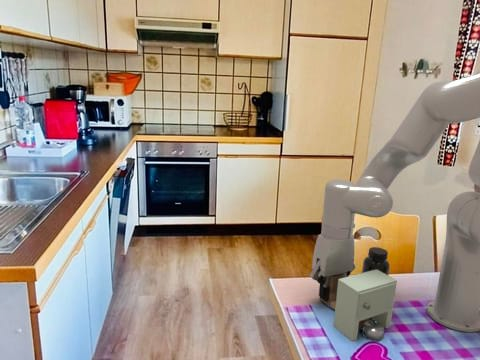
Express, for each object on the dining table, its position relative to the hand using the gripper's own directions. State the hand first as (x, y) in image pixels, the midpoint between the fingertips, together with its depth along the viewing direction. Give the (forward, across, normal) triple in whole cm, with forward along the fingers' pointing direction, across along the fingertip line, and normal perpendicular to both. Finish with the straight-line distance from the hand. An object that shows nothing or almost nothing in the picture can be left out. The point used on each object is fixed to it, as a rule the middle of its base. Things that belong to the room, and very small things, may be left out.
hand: (330, 296), depth 101 cm
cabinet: (+2, 0, +11) cm, 11 cm away
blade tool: (+1, 0, +5) cm, 5 cm away
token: (+2, 0, +15) cm, 15 cm away
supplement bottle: (+2, -15, 0) cm, 15 cm away
